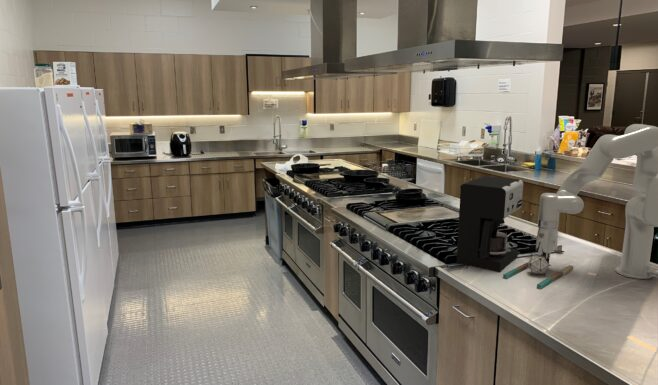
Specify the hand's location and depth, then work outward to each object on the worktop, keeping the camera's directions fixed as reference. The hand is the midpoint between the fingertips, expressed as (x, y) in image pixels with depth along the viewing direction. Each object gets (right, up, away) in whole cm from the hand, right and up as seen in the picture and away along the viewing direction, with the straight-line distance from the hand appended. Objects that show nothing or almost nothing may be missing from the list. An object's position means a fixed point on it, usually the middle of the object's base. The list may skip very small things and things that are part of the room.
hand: (543, 266), depth 197 cm
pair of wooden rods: (-3, -2, -3) cm, 5 cm away
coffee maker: (-20, +1, +11) cm, 23 cm away
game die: (-4, -2, -3) cm, 6 cm away
